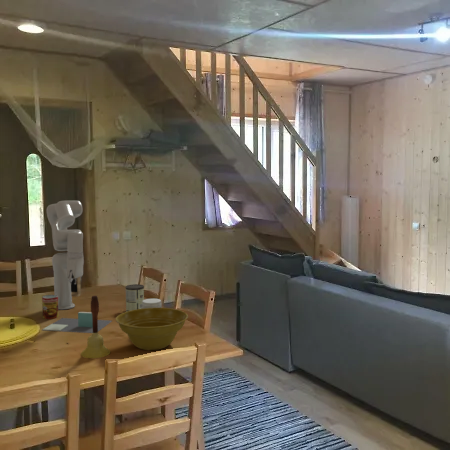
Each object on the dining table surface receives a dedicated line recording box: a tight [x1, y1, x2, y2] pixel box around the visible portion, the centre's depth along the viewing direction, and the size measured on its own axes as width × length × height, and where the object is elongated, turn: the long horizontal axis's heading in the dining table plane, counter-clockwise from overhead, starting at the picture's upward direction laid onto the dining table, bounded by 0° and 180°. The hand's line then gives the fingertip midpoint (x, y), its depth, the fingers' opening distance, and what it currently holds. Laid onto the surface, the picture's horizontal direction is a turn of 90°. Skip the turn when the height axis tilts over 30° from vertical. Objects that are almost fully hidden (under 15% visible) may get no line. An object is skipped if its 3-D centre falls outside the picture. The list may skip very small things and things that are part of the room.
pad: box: [42, 323, 68, 332], centre depth 253 cm, size 9×9×1 cm
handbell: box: [80, 295, 111, 359], centre depth 219 cm, size 12×12×25 cm
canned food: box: [41, 294, 59, 320], centre depth 272 cm, size 8×8×12 cm
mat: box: [42, 317, 113, 334], centre depth 258 cm, size 28×22×1 cm
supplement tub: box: [142, 298, 163, 309], centre depth 254 cm, size 10×10×15 cm
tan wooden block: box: [71, 277, 82, 297], centre depth 263 cm, size 4×4×12 cm
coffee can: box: [125, 283, 145, 312], centre depth 289 cm, size 10×10×14 cm
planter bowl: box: [115, 307, 189, 351], centre depth 230 cm, size 32×32×13 cm
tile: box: [77, 311, 93, 327], centre depth 256 cm, size 8×2×7 cm, turn 81°
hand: (76, 290), depth 263 cm, fingers closed on tan wooden block, 3 cm apart
